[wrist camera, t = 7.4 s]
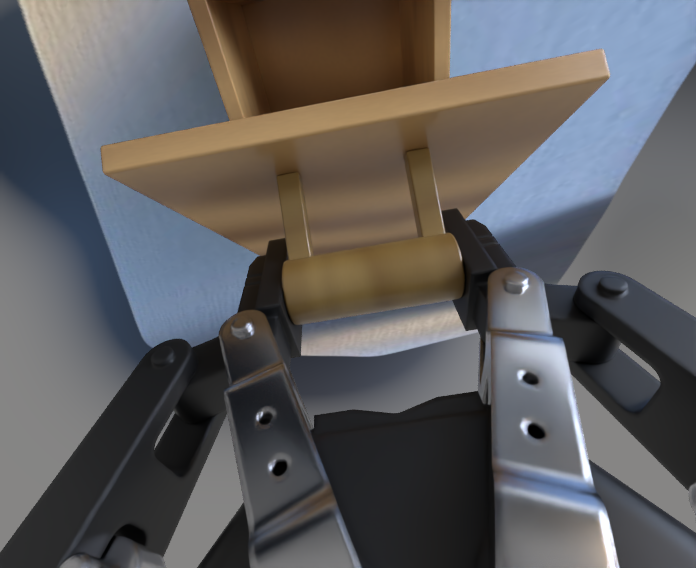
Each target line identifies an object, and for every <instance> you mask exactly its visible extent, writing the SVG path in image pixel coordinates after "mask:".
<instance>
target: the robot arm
mask: <svg viewBox="0 0 696 568" xmlns="http://www.w3.org/2000/svg"><path fill="white" fill-rule="evenodd" d="M441 212H442V217H443V223H444V228H445V233H451V234H452V235H453V236H454V237H455V239H456V241H457V243H458V246H459V248H460V251H461V255H462V259H463V265H464V273H465V286H464V293H463V295H462V297H461V298H459V299H455V300H452V301H453V303H454V305H455V308H456V310H457V312H458V314H459V317H460V319H461V321H462V323H463V325H464V328H465V330H466V331H469V330H475V329H477V330H478V332H479V334H480V342H479V374H478V391H475V392H469V393H462V394H455V395H449V396H441V397H436V398H434V399H432V400H429V401H427V402H424V403H422V404H420V405H417V406H415V407H412V408H410V409H408V410H405V411H403V412H400V413H383V412H373V411H363V410H347V411H341V412H335V413H327V414H321V415H315V416H314V428H313V425H312V423H311V421H310V418H309V416H308V413H307V411H306V408H305V406H304V403H303V401H302V398H301V396H300V393H299V391H298V388H297V386H296V384H295V381H294V378H293V376H292V373H291V371H290V361H291V358H294V357H300V356H301V339H302V325H295V324H294V323H293V322H292V321H291V319H290V317H289V314H288V312H287V308H286V305H285V301H284V296H283V289H282V266H283V263H284V262H285V261H286V260H288V254H287V247H286V240H285V238H281V239H275V240H270V241H269V242H268V247H267V252H266V255H264V256H258V257H257V258H256V259H255V260H254V261H253V263H252V264H251V265H250V266H249V270H248V274H247V278H246V281H245V286H244V289H243V293H242V297H241V301H240V305H239V308H238V312H237V314H235V315H233V316H231V317H230V318H229V319H228V320H226V321H225V322H224V324H223V325H222V327H221V328H220V331H219V336H218V337H216V338H214V339H212V340H210V341H207V342H205V343H202V344H200V345H197V346H195V347H193V348H192V347H191V346H190V344H189V343H188V342H187V341H185V340H183V339H172V340H168V341H165V342H163V343H161V344H159V345H157V346H155V347H154V348H153V349H151V350H150V351H149V352H148V353H147V354H146V355H145V356H144V357H143V359H142V360H141V361H140V363H139V364H138V366H137V367H136V368H135V370H134V371H133V372H132V374H131V375H130V377H129V378H128V379H127V381H126V382H125V383H124V385H123V386H122V387H121V389H120V390H119V392H118V393H117V394H116V396H115V397H114V398H113V400H112V401H111V402H110V404H109V405H108V406H107V408H106V409H105V411H104V412H103V413H102V415H101V416H100V417H99V419H98V420H97V422H96V423H95V424H94V426H93V427H92V428H91V430H90V431H89V432H88V434H87V435H86V436H85V438H84V439H83V441H82V442H81V443H80V445H79V446H78V447H77V449H76V450H75V451H74V453H73V454H72V456H71V457H70V458H69V460H68V461H67V462H66V464H65V465H64V466H63V468H62V469H61V471H60V472H59V473H58V475H57V476H56V478H55V479H54V480H53V481H52V483H51V484H50V486H49V487H48V488H47V490H46V491H45V492H44V494H43V495H42V497H41V498H40V500H39V501H38V502H37V503H36V505H35V506H34V507H33V509H32V510H31V511H30V513H29V514H28V516H27V517H26V518H25V520H24V521H23V522H22V524H21V525H20V527H19V528H18V529H17V531H16V532H15V533H14V535H13V536H12V538H11V539H10V540H9V541H8V543H7V544H6V546H5V547H4V548H3V550H2V551H1V552H0V568H166V565H165V562H164V559H163V556H164V554H165V552H166V549H167V547H168V545H169V543H170V540H171V538H172V536H173V534H174V532H175V529H176V527H177V525H178V523H179V520H180V518H181V516H182V514H183V511H184V509H185V507H186V505H187V502H188V500H189V498H190V495H191V493H192V491H193V489H194V487H195V484H196V482H197V480H198V478H199V475H200V473H201V470H202V468H203V466H204V464H205V462H206V460H207V457H208V455H209V453H210V451H211V448H212V446H213V444H214V442H215V439H216V437H217V435H218V433H219V430H220V428H221V426H222V424H223V421H224V419H225V417H226V414H227V415H228V420H229V425H230V431H231V436H232V441H233V446H234V452H235V457H236V463H237V468H238V473H239V479H240V484H241V489H242V494H243V500H244V503H243V504H242V505H241V507H240V508H239V510H238V511H237V512H236V514H235V515H234V517H233V518H232V519H231V521H230V522H229V524H228V525H227V527H226V528H225V529H224V531H223V532H222V534H221V535H220V536H219V538H218V539H217V541H216V542H215V544H214V545H213V546H212V548H211V549H210V551H209V552H208V553H207V555H206V556H205V558H204V559H203V560H202V562H201V563H200V564H199V566H198V567H197V568H696V533H695V532H693V531H692V530H691V529H689V528H688V527H686V526H685V525H684V524H682V523H681V522H679V521H678V520H676V519H675V518H673V517H672V516H670V515H669V514H667V513H666V512H665V511H663V510H662V509H660V508H659V507H657V506H656V505H654V504H653V503H652V502H650V501H649V500H647V499H646V498H644V497H643V496H641V495H640V494H638V493H637V492H635V491H634V490H633V489H631V488H630V487H628V486H627V485H625V484H624V483H622V482H621V481H620V480H618V479H617V478H615V477H614V476H612V475H611V474H609V473H608V472H606V471H605V470H604V469H602V468H601V467H599V466H598V465H596V464H595V463H593V462H592V461H591V460H589V459H588V455H587V451H586V446H585V441H584V436H583V431H582V426H581V421H580V417H579V412H578V408H577V402H576V397H575V392H574V387H573V382H572V378H571V374H572V375H573V376H574V377H575V378H576V379H577V380H578V381H579V382H580V383H581V384H582V385H583V386H584V387H585V388H586V389H587V390H588V391H589V392H590V393H591V394H592V395H593V396H594V397H595V398H596V399H597V400H598V401H599V402H600V403H601V404H602V405H603V406H604V407H605V408H606V409H607V410H608V411H609V412H610V413H611V414H612V415H613V416H614V417H615V418H616V419H617V420H618V421H619V422H620V423H621V424H622V425H623V426H624V427H625V428H626V429H627V430H628V431H629V432H630V433H631V434H632V435H633V436H634V437H635V438H636V439H637V440H638V441H639V442H640V443H641V444H642V445H643V446H644V447H645V448H646V449H647V450H648V451H649V452H650V453H651V454H652V455H653V456H654V457H655V458H656V459H657V460H658V461H659V462H660V463H661V464H662V465H663V466H664V467H665V468H666V469H667V470H668V471H669V472H670V473H671V474H672V475H673V476H674V477H675V478H676V479H677V480H678V481H679V482H680V483H681V484H682V485H683V486H684V487H685V488H686V489H687V490H688V491H689V501H690V504H691V507H692V509H693V511H694V513H695V515H696V318H695V317H694V316H692V315H690V314H689V313H687V312H686V311H684V310H682V309H681V308H679V307H678V306H676V305H674V304H672V303H671V302H669V301H668V300H666V299H665V298H663V297H661V296H660V295H658V294H656V293H655V292H653V291H652V290H650V289H648V288H647V287H645V286H644V285H642V284H640V283H639V282H637V281H635V280H633V279H632V278H630V277H628V276H625V275H623V274H620V273H616V272H610V271H594V272H590V273H587V274H585V275H584V276H582V277H581V278H580V280H579V283H578V286H568V285H552V284H545V283H543V281H542V279H541V278H540V277H539V276H538V275H537V274H535V273H534V272H532V271H529V270H527V269H524V268H519V267H516V266H515V264H514V263H513V262H512V260H511V259H510V258H509V256H508V255H507V254H506V252H505V251H504V250H503V248H502V247H501V246H500V244H498V242H497V240H496V239H495V238H494V236H493V237H492V234H491V232H490V231H489V230H488V228H487V227H486V226H485V225H483V224H481V223H479V222H478V221H476V220H474V219H473V220H467V221H466V220H465V219H464V217H463V216H462V214H461V213H460V211H459V210H458V209H457V208H454V209H448V210H442V211H441ZM621 343H623V344H624V345H625V346H626V347H628V348H629V349H630V350H631V351H633V352H634V353H635V354H636V355H638V356H639V357H640V358H642V359H643V360H644V361H645V362H646V363H648V364H649V365H650V366H651V367H652V368H653V369H654V370H655V371H656V372H657V374H658V376H659V378H660V382H659V381H658V380H657V379H655V378H654V377H653V376H652V375H651V374H650V373H648V372H647V371H646V370H645V369H643V368H642V367H641V366H640V365H639V364H637V363H636V362H635V361H634V360H632V359H631V358H630V357H629V356H628V355H626V354H625V353H624V352H623V351H621V350H620V349H619V346H620V344H621ZM173 411H175V414H174V416H173V418H172V420H171V421H170V423H169V425H168V427H167V429H166V430H165V432H164V434H163V436H162V437H161V439H160V441H159V443H158V445H157V446H156V448H155V450H154V447H155V443H156V440H157V438H158V436H159V434H160V433H161V431H162V429H163V427H164V426H165V423H166V422H167V420H168V419H169V417H170V415H171V413H172V412H173Z"/></svg>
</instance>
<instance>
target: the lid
mask: <svg viewBox="0 0 696 568" xmlns="http://www.w3.org/2000/svg"><path fill="white" fill-rule="evenodd" d="M609 77H610V72H609V68H608V64H607V60H606V56H605V52H604V50H603V49H596V50H591V51H586V52H581V53H576V54H571V55H566V56H560V57H555V58H550V59H545V60H540V61H535V62H530V63H525V64H519V65H514V66H509V67H504V68H499V69H494V70H489V71H483V72H478V73H473V74H468V75H463V76H458V77H453V78H448V79H442V80H437V81H432V82H427V83H422V84H417V85H412V86H406V87H401V88H396V89H391V90H386V91H381V92H376V93H371V94H365V95H360V96H355V97H350V98H345V99H340V100H335V101H329V102H324V103H319V104H314V105H309V106H304V107H299V108H294V109H288V110H283V111H278V112H273V113H268V114H263V115H258V116H252V117H247V118H242V119H237V120H232V121H227V122H222V123H217V124H211V125H206V126H201V127H196V128H191V129H186V130H181V131H175V132H170V133H165V134H160V135H155V136H150V137H145V138H140V139H134V140H129V141H124V142H119V143H114V144H109V145H104V146H101V159H102V169H103V173H104V174H105V175H107V176H108V177H110V178H112V179H114V180H116V181H118V182H120V183H122V184H124V185H126V186H128V187H130V188H131V189H133V190H135V191H137V192H139V193H141V194H143V195H145V196H147V197H149V198H151V199H153V200H154V201H156V202H158V203H160V204H162V205H164V206H166V207H168V208H170V209H172V210H174V211H175V212H177V213H179V214H181V215H183V216H185V217H187V218H189V219H191V220H193V221H195V222H197V223H198V224H200V225H202V226H204V227H206V228H208V229H210V230H212V231H214V232H216V233H218V234H219V235H221V236H223V237H225V238H227V239H229V240H231V241H233V242H235V243H237V244H239V245H241V246H242V247H244V248H246V249H248V250H250V251H252V252H254V253H256V254H258V255H260V256H264V255H266V252H267V247H268V242H269V241H270V240H275V239H281V238H285V240H286V247H287V254H288V260H286V261H285V262H284V263H283V266H282V289H283V296H284V301H285V305H286V308H287V312H288V314H289V317H290V319H291V321H292V322H293V323H294V324H295V325H302V324H308V323H314V322H320V321H327V320H333V319H339V318H345V317H351V316H357V315H363V314H370V313H376V312H382V311H388V310H394V309H400V308H406V307H412V306H419V305H425V304H431V303H437V302H443V301H449V300H455V299H459V298H461V297H462V295H463V293H464V286H465V273H464V265H463V259H462V255H461V251H460V248H459V246H458V243H457V241H456V239H455V237H454V236H453V235H452V234H451V233H445V228H444V223H443V217H442V212H441V211H442V210H448V209H454V208H457V209H458V210H459V211H460V213H461V214H462V216H463V217H464V219H466V218H467V217H468V216H469V215H470V214H471V213H472V212H473V211H474V210H475V209H476V208H477V207H478V206H479V205H480V204H481V203H482V202H483V201H484V200H485V199H486V198H487V197H488V196H490V195H491V194H492V193H493V192H494V191H495V190H496V189H497V188H498V187H499V186H500V185H501V184H502V183H503V182H504V181H505V180H506V179H507V178H508V177H509V176H510V175H511V174H512V173H513V172H514V171H515V170H516V169H517V168H518V167H519V166H520V165H521V164H522V163H523V162H524V161H525V160H526V159H527V158H528V157H529V156H530V155H531V154H532V153H533V152H534V151H535V150H536V149H538V148H539V147H540V146H541V145H542V144H543V143H544V142H545V141H546V140H547V139H548V138H549V137H550V136H551V135H552V134H553V133H554V132H555V131H556V130H557V129H558V128H559V127H560V126H561V125H562V124H563V123H564V122H565V121H566V120H567V119H568V118H569V117H570V116H571V115H572V114H573V113H574V112H575V111H576V110H577V109H578V108H579V107H580V106H581V105H582V104H583V103H584V102H586V101H587V100H588V99H589V98H590V97H591V96H592V95H593V94H594V93H595V92H596V91H597V90H598V89H599V88H600V87H601V86H602V85H603V84H604V83H605V82H606V81H607V80H608V79H609Z"/></svg>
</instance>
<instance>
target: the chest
mask: <svg viewBox="0 0 696 568" xmlns="http://www.w3.org/2000/svg"><path fill="white" fill-rule="evenodd" d="M187 1H188V4H189V7H190V10H191V12H192V15H193V18H194V21H195V24H196V27H197V29H198V32H199V35H200V38H201V41H202V44H203V47H204V49H205V52H206V55H207V58H208V61H209V64H210V66H211V69H212V72H213V75H214V78H215V81H216V84H217V86H218V89H219V92H220V95H221V98H222V101H223V104H224V106H225V109H226V112H227V115H228V118H229V121H232V120H237V119H242V118H247V117H252V116H258V115H263V114H268V113H273V112H278V111H283V110H288V109H294V108H299V107H304V106H309V105H314V104H319V103H324V102H329V101H335V100H340V99H345V98H350V97H355V96H360V95H365V94H371V93H376V92H381V91H386V90H391V89H396V88H401V87H406V86H412V85H417V84H422V83H427V82H432V81H437V80H442V79H448V78H450V32H451V0H187Z"/></svg>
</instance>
